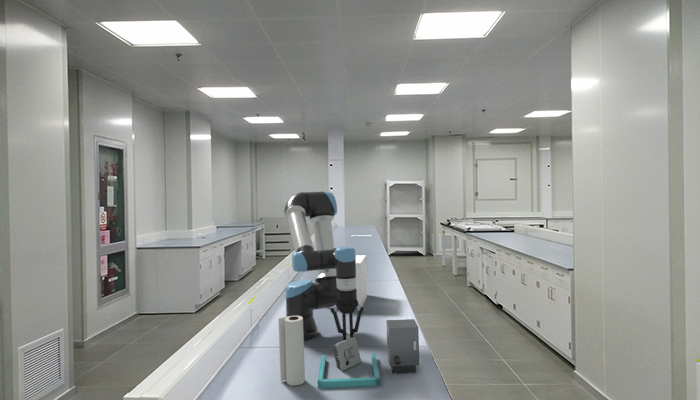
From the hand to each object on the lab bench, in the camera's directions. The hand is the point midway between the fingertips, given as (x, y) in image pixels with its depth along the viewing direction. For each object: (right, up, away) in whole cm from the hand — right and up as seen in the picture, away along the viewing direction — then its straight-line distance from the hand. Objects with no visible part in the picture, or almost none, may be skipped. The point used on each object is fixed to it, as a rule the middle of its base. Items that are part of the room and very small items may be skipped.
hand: (348, 350), depth 146 cm
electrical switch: (-1, -3, -6) cm, 7 cm away
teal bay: (0, -3, -12) cm, 12 cm away
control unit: (+19, -2, -11) cm, 22 cm away
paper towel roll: (-18, -4, -17) cm, 25 cm away
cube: (-2, -1, +75) cm, 75 cm away
